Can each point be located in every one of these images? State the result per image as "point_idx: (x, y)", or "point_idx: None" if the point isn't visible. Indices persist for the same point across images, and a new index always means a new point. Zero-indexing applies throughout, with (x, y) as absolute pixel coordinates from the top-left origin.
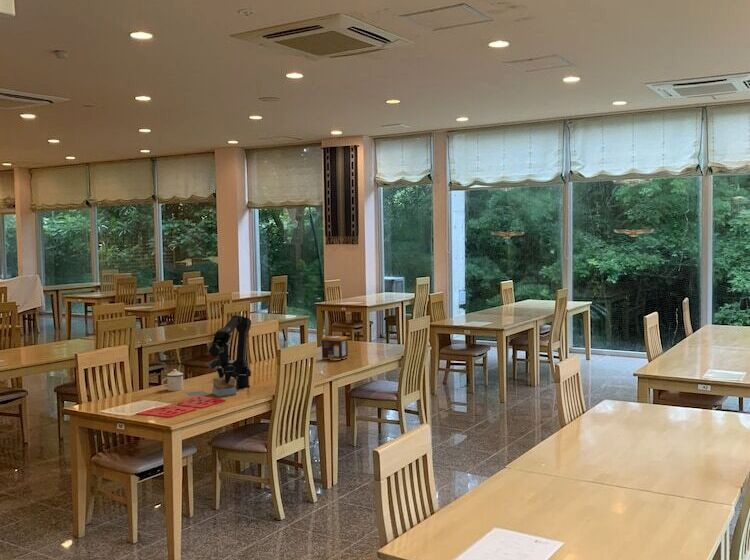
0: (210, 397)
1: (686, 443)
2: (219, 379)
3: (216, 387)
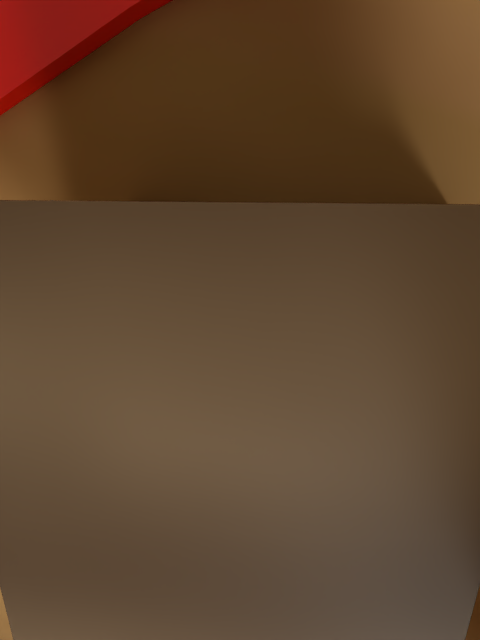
0: (90, 32)
1: None
2: (21, 371)
3: (152, 201)
